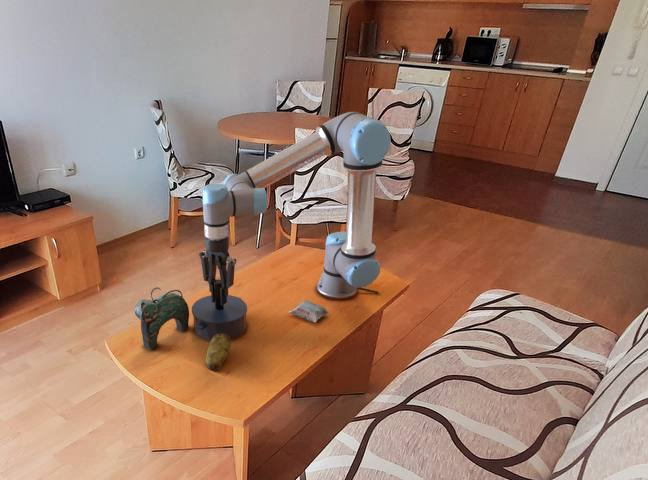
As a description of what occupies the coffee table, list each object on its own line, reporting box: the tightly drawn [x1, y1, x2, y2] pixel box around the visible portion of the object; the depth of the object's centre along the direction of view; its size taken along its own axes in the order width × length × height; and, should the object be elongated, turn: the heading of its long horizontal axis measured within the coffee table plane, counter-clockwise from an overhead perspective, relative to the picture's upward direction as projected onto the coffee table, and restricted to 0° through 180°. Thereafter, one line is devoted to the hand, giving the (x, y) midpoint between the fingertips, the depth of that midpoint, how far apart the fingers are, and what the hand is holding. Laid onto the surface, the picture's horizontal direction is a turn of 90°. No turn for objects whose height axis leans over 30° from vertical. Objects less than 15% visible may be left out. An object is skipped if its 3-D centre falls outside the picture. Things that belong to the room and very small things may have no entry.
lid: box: [191, 278, 248, 324], centre depth 168 cm, size 19×19×11 cm
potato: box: [204, 333, 232, 372], centre depth 156 cm, size 8×13×8 cm, turn 147°
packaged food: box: [288, 300, 330, 323], centre depth 178 cm, size 9×12×5 cm
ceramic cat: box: [134, 286, 190, 351], centre depth 164 cm, size 20×6×20 cm, turn 137°
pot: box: [193, 296, 247, 340], centre depth 173 cm, size 18×23×7 cm
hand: (219, 302), depth 169 cm, fingers closed on lid, 3 cm apart
